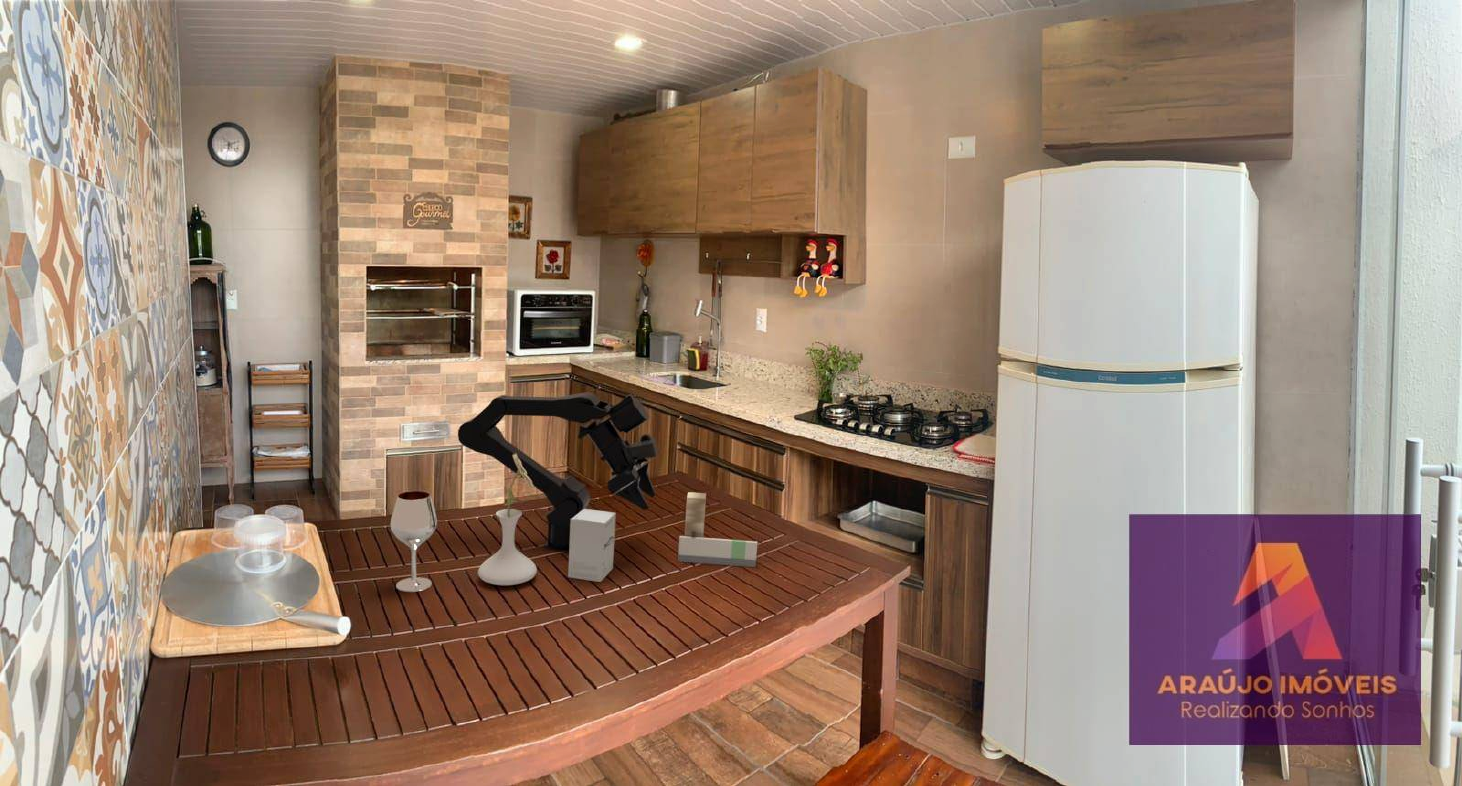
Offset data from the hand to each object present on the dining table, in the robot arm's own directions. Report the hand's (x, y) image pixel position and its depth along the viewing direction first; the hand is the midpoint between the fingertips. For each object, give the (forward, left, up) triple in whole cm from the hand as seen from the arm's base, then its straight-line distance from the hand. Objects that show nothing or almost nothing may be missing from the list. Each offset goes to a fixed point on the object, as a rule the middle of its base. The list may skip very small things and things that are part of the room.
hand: (650, 502), depth 177 cm
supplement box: (-5, -16, -12) cm, 20 cm away
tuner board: (+14, +6, -12) cm, 20 cm away
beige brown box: (+9, +3, -10) cm, 14 cm away
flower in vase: (-18, -26, -12) cm, 34 cm away
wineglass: (-31, -38, -12) cm, 50 cm away
